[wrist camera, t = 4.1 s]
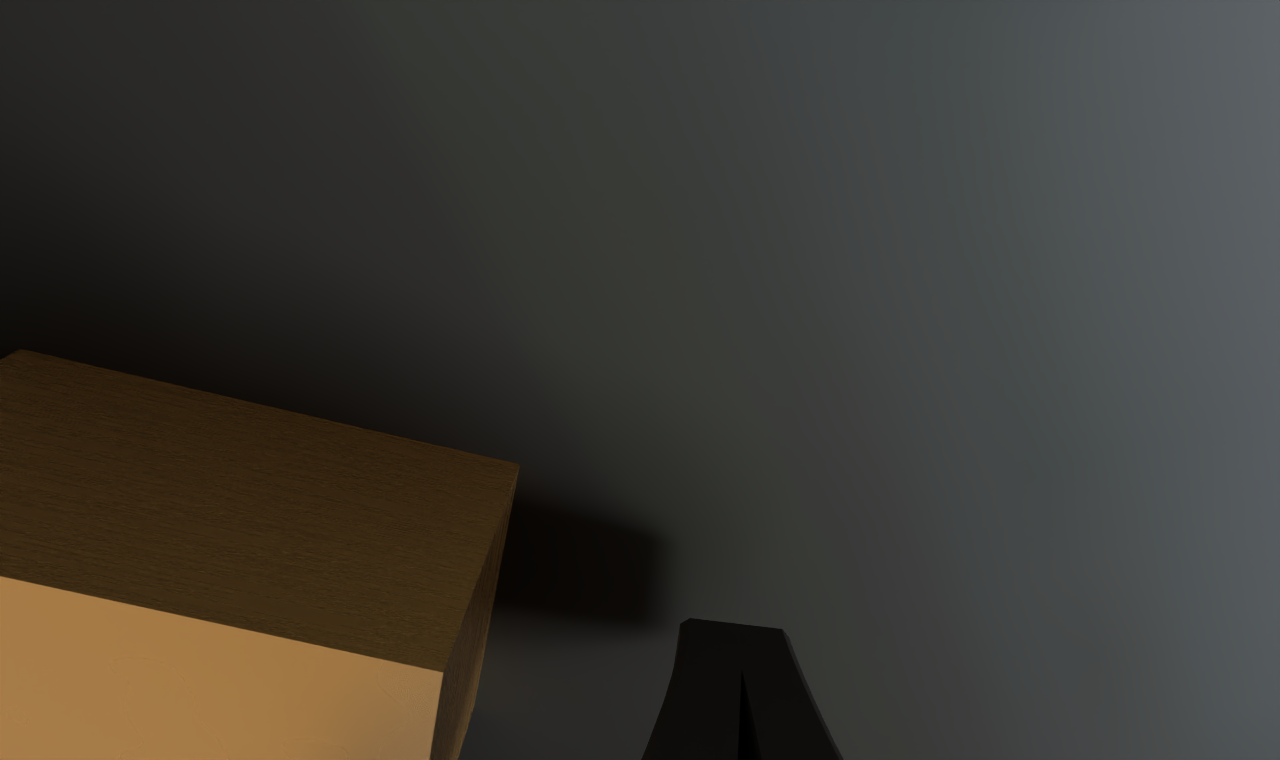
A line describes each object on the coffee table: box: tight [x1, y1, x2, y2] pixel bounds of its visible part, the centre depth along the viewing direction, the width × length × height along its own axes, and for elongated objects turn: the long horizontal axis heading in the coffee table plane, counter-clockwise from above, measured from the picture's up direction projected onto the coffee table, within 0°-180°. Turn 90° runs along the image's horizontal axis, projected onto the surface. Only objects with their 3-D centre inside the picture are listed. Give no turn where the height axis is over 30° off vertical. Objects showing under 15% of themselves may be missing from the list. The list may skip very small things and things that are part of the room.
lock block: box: [0, 349, 520, 760], centre depth 11 cm, size 7×5×4 cm
